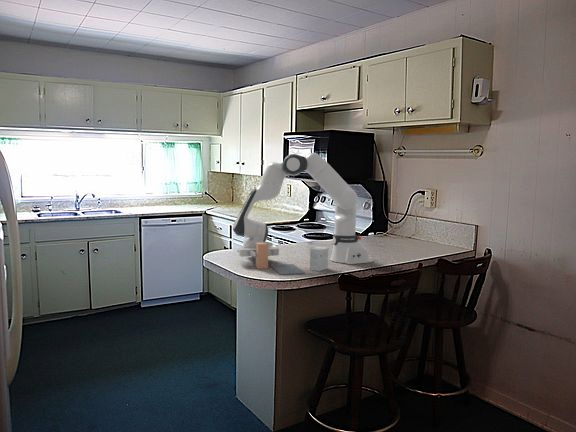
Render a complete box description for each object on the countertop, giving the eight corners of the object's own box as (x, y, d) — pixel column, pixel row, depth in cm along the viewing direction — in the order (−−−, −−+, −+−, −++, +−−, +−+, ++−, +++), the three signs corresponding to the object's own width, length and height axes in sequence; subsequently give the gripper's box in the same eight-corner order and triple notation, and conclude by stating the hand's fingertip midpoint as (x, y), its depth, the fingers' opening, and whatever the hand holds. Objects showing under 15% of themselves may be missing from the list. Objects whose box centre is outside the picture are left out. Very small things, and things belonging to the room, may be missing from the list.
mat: (293, 265, 246) (293, 264, 246) (304, 273, 229) (304, 272, 229) (270, 266, 243) (270, 264, 243) (280, 275, 226) (280, 273, 226)
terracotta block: (265, 265, 242) (265, 242, 241) (267, 268, 238) (268, 244, 236) (255, 266, 241) (256, 242, 239) (257, 268, 236) (258, 244, 235)
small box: (318, 266, 244) (319, 246, 243) (328, 268, 241) (328, 247, 240) (309, 269, 238) (310, 248, 237) (318, 271, 235) (319, 250, 233)
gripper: (236, 243, 247) (241, 248, 234) (274, 242, 253) (282, 247, 240) (235, 255, 248) (241, 261, 235) (274, 254, 254) (282, 260, 241)
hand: (262, 254), depth 238 cm, fingers closed on terracotta block, 5 cm apart
